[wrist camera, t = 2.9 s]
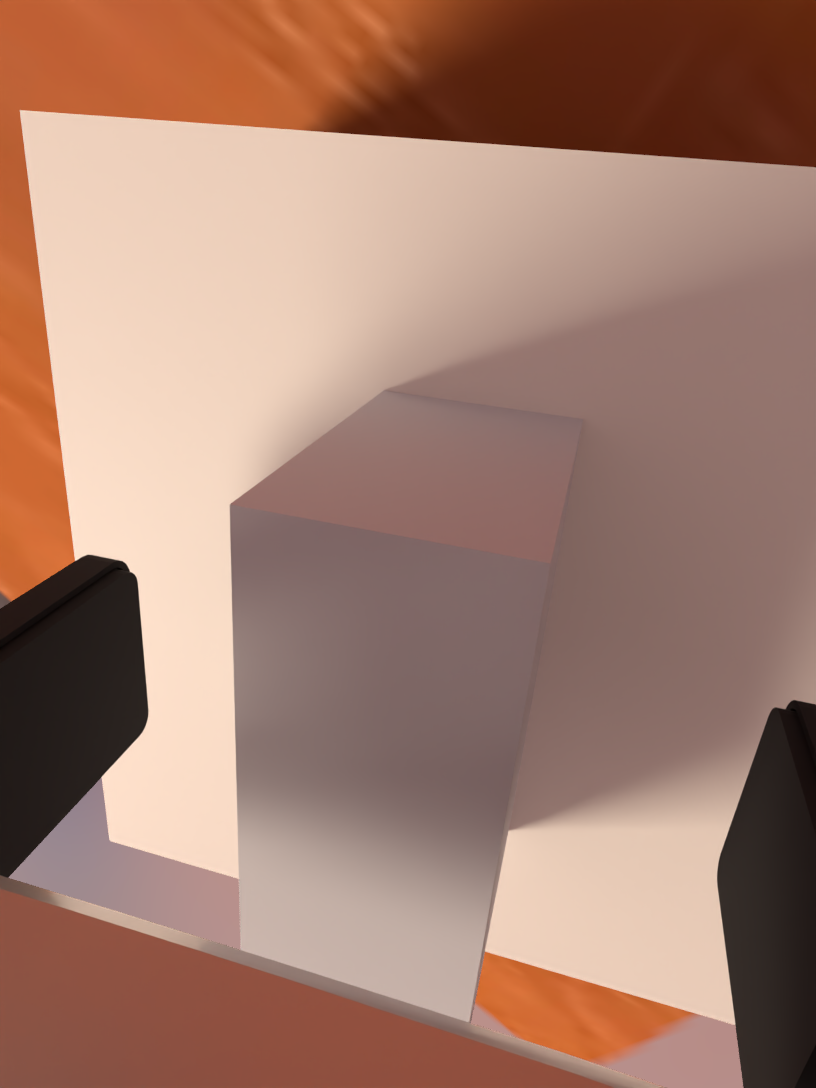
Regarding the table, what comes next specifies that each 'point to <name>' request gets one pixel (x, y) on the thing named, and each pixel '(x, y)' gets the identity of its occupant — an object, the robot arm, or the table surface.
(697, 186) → the lid
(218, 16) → the table surface
